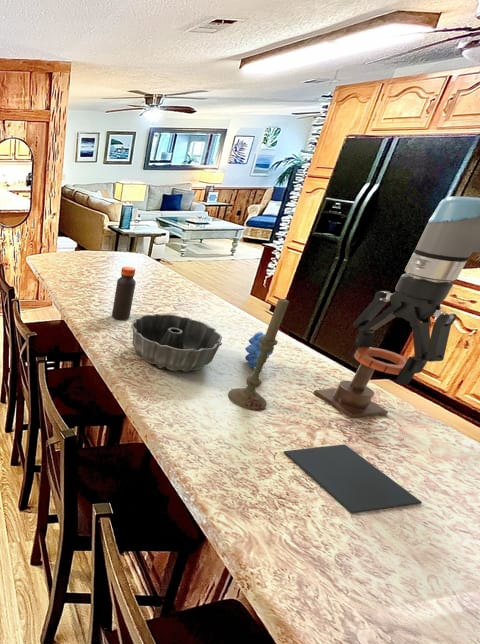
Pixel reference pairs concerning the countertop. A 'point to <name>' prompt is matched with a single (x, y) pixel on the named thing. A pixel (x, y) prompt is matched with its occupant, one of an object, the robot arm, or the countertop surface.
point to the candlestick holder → (260, 364)
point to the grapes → (254, 349)
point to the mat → (351, 478)
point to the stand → (353, 395)
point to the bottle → (124, 294)
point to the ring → (363, 357)
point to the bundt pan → (175, 341)
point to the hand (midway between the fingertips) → (377, 370)
